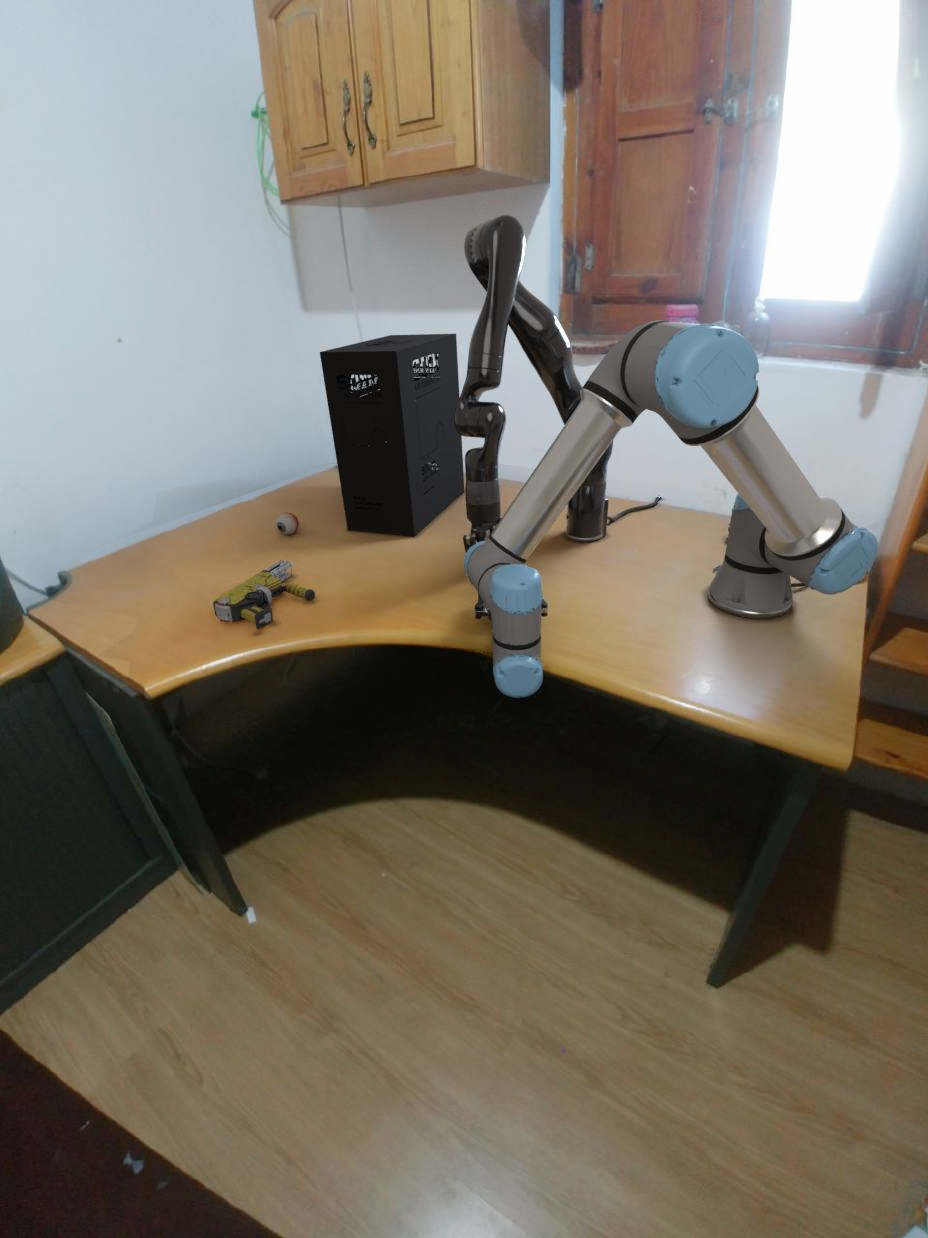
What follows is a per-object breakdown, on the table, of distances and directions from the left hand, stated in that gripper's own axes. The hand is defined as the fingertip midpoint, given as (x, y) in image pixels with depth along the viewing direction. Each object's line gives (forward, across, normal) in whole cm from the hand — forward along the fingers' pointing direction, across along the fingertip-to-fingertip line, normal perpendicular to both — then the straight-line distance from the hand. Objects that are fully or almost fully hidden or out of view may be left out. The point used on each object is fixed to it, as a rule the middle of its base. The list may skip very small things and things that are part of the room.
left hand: (485, 568), depth 139 cm
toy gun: (0, +35, -31) cm, 47 cm away
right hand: (-6, +9, +11) cm, 16 cm away
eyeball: (0, +6, -60) cm, 60 cm away
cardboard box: (0, -24, -42) cm, 48 cm away
